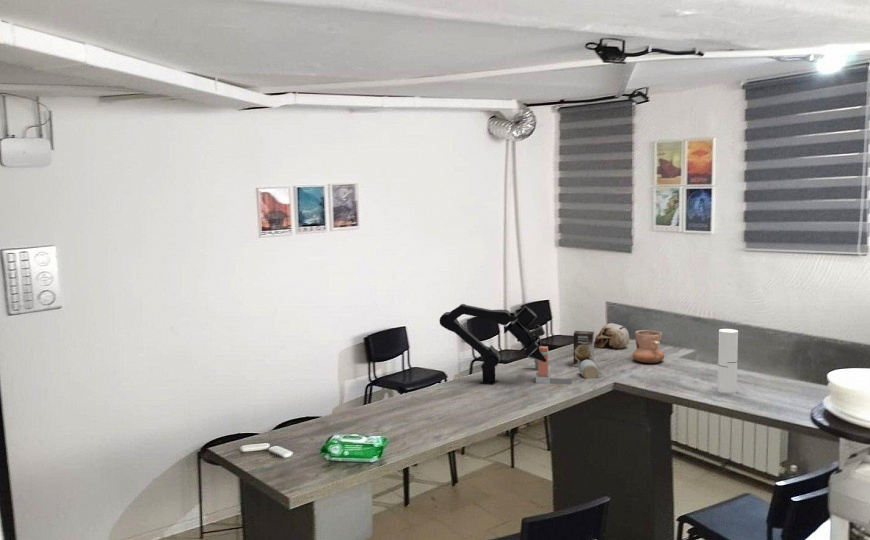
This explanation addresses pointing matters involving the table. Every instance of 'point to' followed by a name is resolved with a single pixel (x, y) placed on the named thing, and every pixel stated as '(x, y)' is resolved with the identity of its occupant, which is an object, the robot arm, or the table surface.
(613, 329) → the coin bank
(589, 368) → the ceramic mug
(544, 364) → the salmon pink rectangular block
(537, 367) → the mechanical component
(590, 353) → the coffee box
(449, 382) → the table surface
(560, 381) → the stand base
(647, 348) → the ceramic jug
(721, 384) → the cylindrical container
